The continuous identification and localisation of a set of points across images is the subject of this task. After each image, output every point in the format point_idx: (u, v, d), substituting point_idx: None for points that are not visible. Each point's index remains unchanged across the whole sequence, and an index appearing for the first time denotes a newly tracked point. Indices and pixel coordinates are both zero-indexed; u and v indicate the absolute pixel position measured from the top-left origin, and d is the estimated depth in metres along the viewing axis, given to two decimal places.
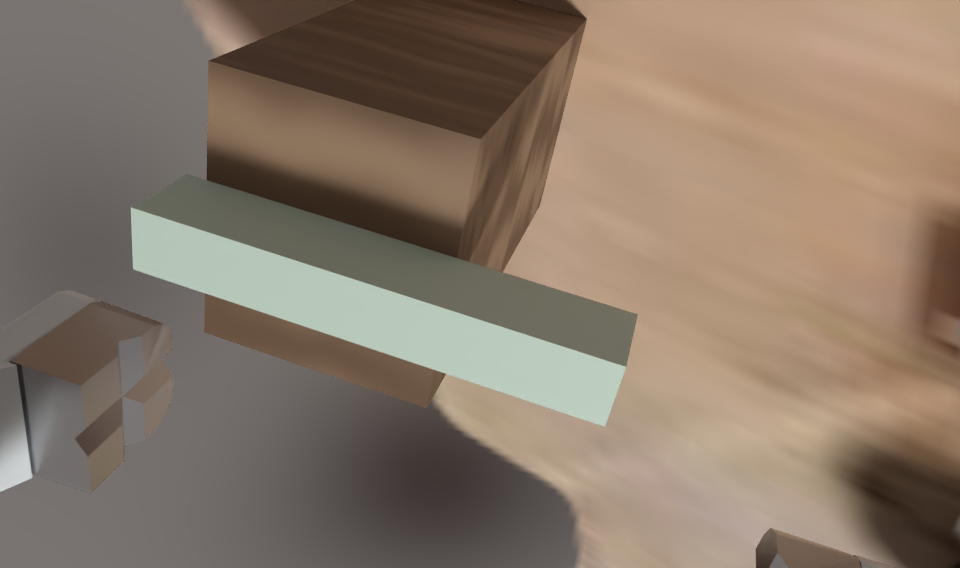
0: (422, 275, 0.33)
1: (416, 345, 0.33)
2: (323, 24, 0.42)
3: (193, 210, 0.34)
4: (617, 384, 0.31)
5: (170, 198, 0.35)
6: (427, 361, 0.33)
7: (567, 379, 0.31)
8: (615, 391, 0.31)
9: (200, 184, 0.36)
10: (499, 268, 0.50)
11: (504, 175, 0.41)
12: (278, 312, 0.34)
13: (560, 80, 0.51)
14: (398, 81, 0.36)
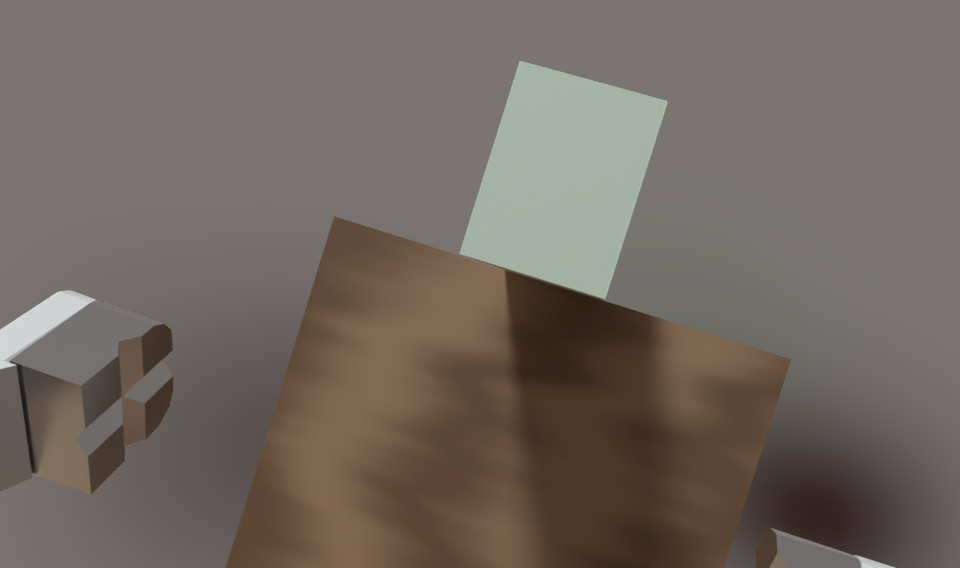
0: None
1: None
2: None
3: None
4: (623, 89, 0.16)
5: None
6: None
7: None
8: (606, 85, 0.16)
9: None
10: None
11: (561, 554, 0.24)
12: None
13: None
14: None
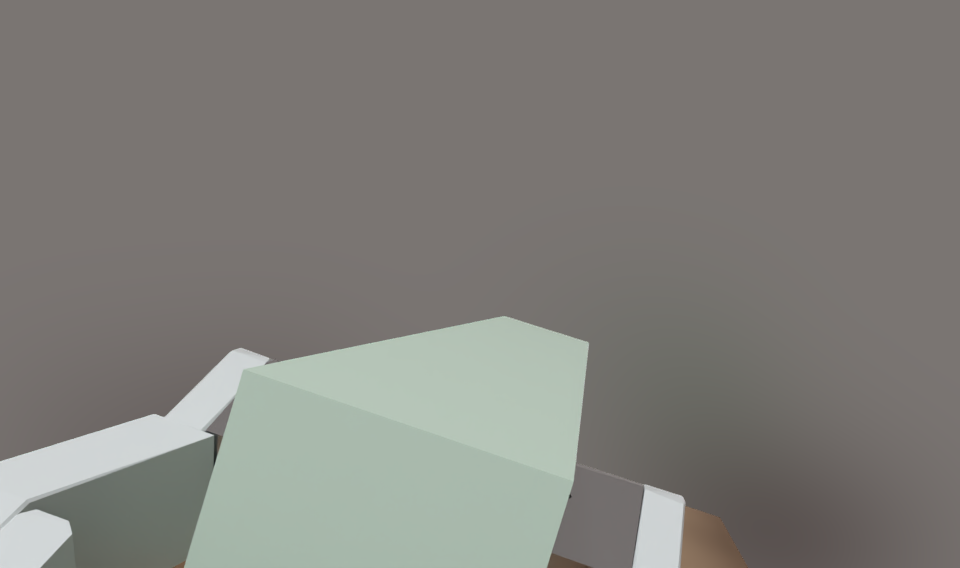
0: None
1: (473, 345, 0.15)
2: None
3: None
4: (475, 444, 0.07)
5: None
6: (437, 338, 0.14)
7: (453, 399, 0.09)
8: (435, 432, 0.07)
9: None
10: None
11: None
12: (485, 324, 0.21)
13: None
14: None
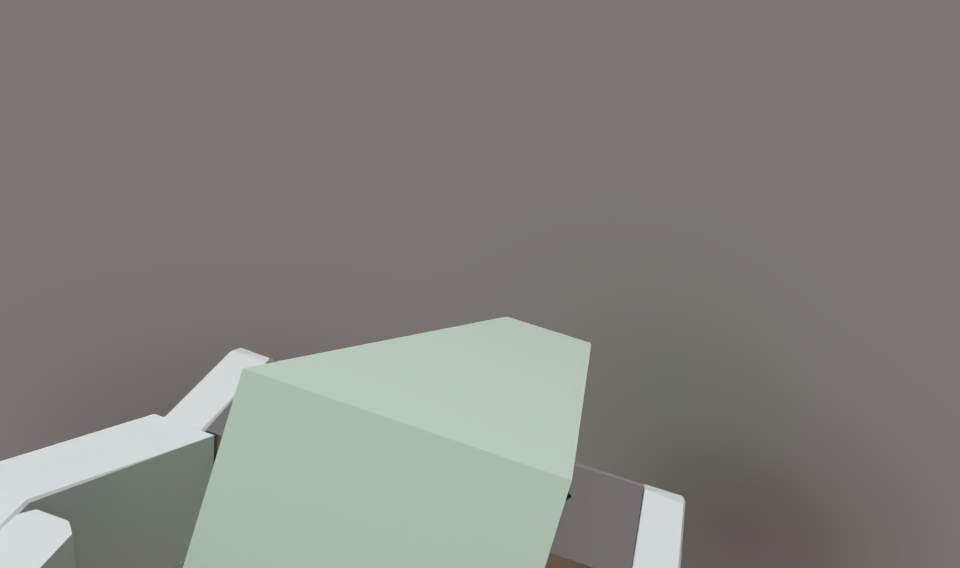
0: None
1: (474, 345, 0.15)
2: None
3: None
4: (473, 443, 0.07)
5: None
6: (438, 338, 0.15)
7: (453, 398, 0.09)
8: (433, 431, 0.07)
9: None
10: None
11: None
12: (487, 325, 0.21)
13: None
14: None
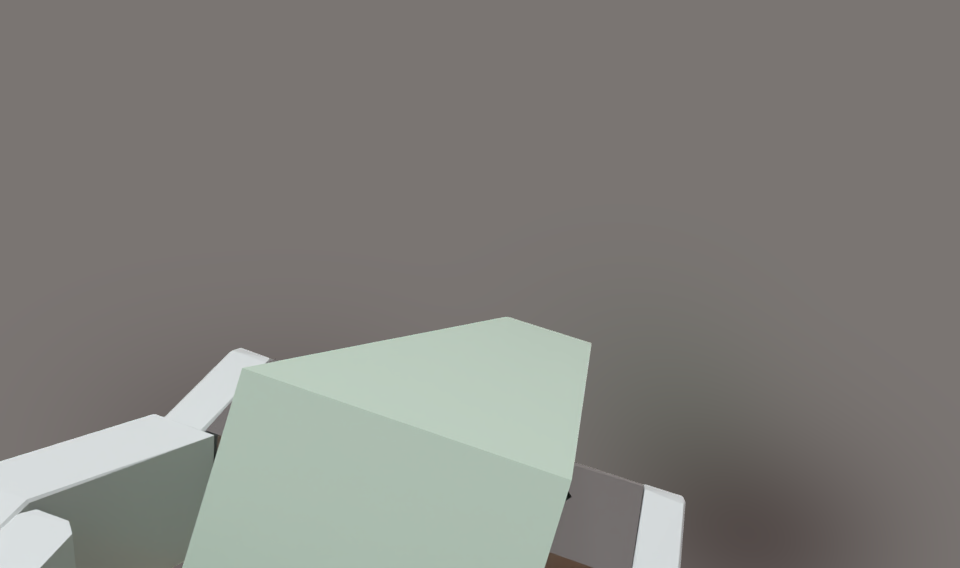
0: None
1: (474, 345, 0.15)
2: None
3: None
4: (473, 443, 0.07)
5: None
6: (438, 338, 0.15)
7: (453, 398, 0.09)
8: (433, 432, 0.07)
9: None
10: None
11: None
12: (488, 325, 0.21)
13: None
14: None
